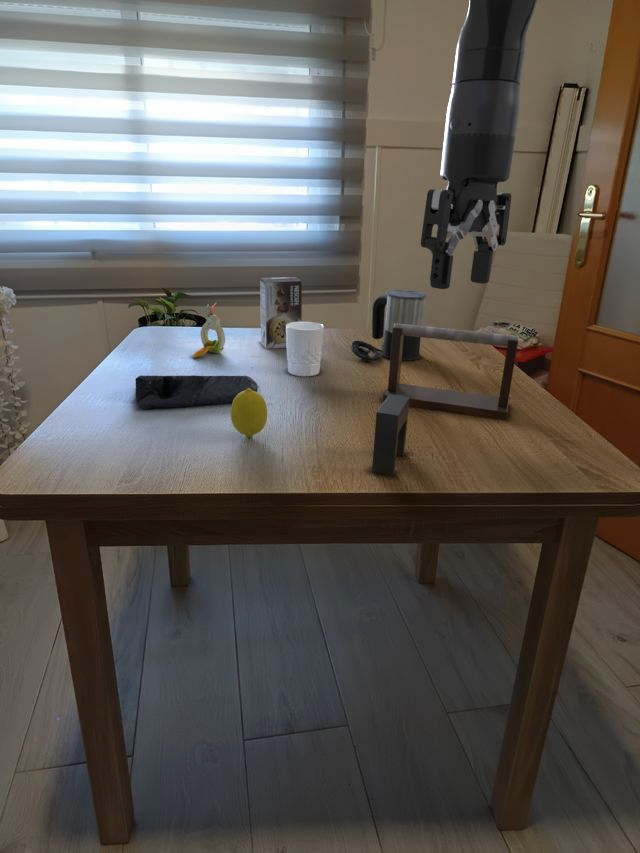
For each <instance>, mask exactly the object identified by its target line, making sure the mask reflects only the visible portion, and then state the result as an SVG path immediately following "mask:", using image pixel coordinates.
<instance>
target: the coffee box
mask: <svg viewBox="0 0 640 853" xmlns="http://www.w3.org/2000/svg"><path fill="white" fill-rule="evenodd" d="M259 298H260V300H259V301H260V305H259V306H260V343H261V345H262V346H263V347H264V348H265V349H266V350H270V349H283V348H286V349H287V347H286V324H288V323H291V322H300V321H303V320H302V314H303V312H302V311H303V304H302V303H303V281H302V280H301V279H299V278H298V277H296V276H282V277H281V276H279V277H278V276H277V277H275V276H274V277H271V276H270V277H260V278H259Z"/></svg>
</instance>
